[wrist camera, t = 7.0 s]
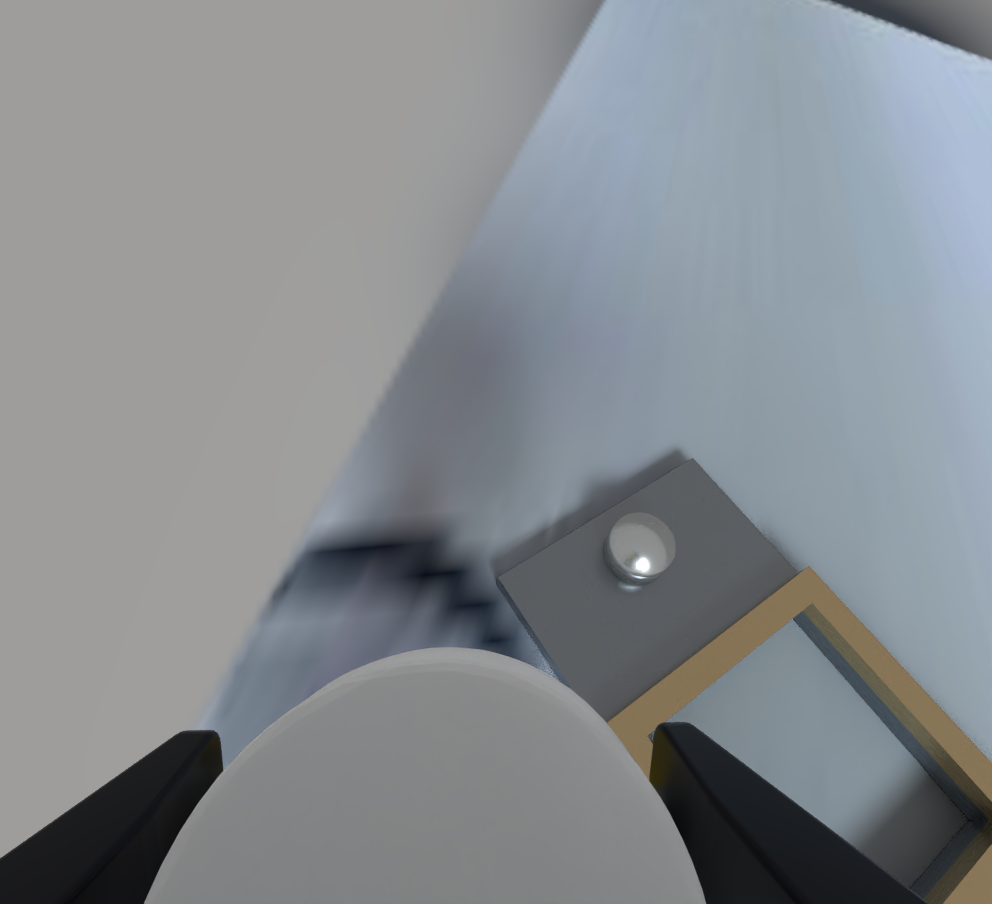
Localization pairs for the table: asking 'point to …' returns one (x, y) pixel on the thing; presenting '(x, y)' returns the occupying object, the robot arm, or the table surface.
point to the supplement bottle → (432, 799)
